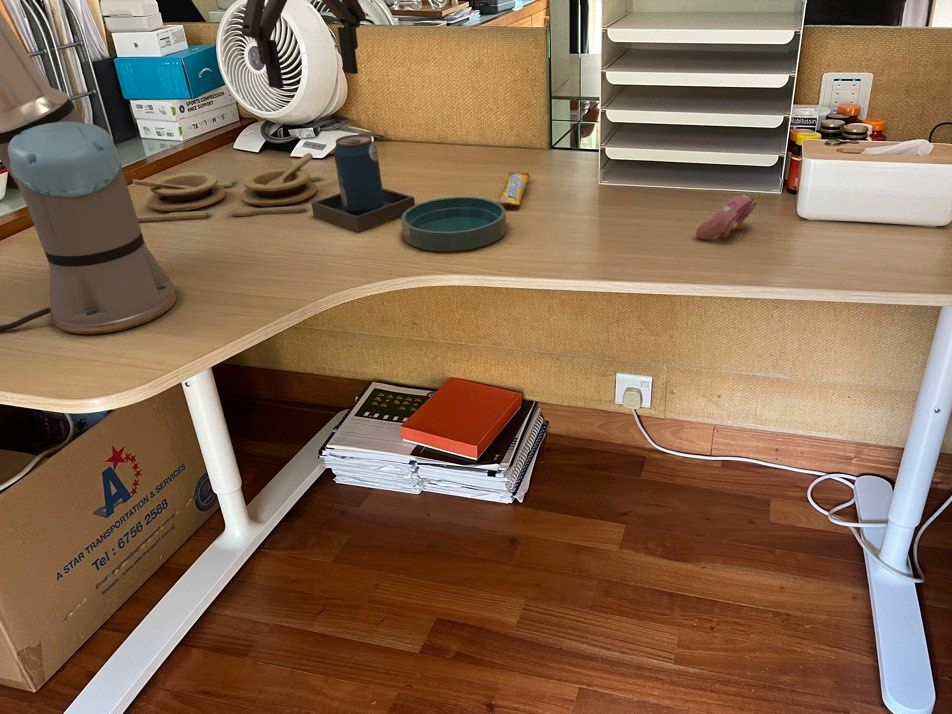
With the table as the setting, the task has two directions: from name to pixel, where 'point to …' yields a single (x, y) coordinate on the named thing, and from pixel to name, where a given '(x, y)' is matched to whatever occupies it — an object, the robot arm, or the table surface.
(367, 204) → the soda can
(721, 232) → the mauve toy shoe
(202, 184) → the tableware set
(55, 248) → the robot arm
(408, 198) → the tray
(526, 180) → the candy bar
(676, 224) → the table surface
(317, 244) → the table surface
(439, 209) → the teal round dish
